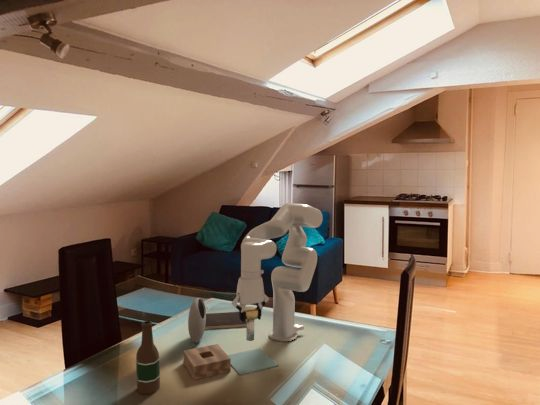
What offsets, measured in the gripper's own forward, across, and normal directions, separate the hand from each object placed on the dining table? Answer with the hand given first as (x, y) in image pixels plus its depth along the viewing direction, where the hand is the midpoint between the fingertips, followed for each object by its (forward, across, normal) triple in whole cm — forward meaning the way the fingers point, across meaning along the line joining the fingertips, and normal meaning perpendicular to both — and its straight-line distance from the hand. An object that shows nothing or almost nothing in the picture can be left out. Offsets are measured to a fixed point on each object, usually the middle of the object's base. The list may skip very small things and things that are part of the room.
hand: (250, 319), depth 169 cm
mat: (+17, 0, 0) cm, 17 cm away
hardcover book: (+18, -7, -42) cm, 46 cm away
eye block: (+17, +17, -3) cm, 24 cm away
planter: (+17, +13, -27) cm, 35 cm away
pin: (+8, 0, 0) cm, 8 cm away
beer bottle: (+18, +40, +3) cm, 44 cm away
